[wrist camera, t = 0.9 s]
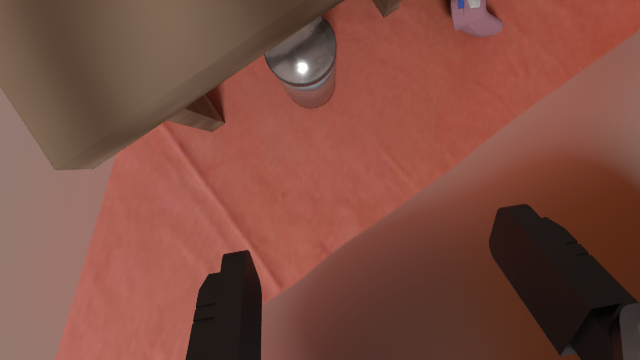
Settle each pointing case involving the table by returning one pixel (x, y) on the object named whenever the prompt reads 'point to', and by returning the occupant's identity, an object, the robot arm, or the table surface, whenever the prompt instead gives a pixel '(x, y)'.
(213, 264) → the table surface
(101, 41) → the walnut shelf
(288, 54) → the salt shaker
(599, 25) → the table surface
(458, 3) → the video game controller
